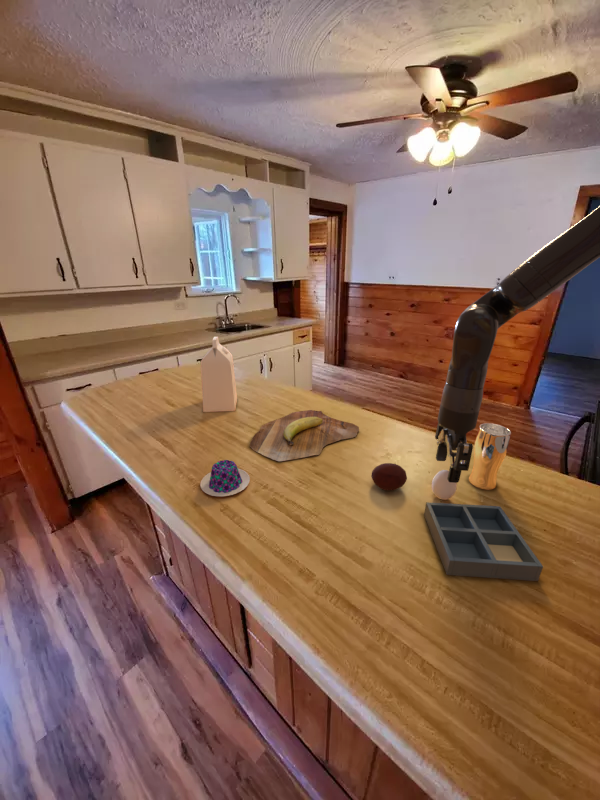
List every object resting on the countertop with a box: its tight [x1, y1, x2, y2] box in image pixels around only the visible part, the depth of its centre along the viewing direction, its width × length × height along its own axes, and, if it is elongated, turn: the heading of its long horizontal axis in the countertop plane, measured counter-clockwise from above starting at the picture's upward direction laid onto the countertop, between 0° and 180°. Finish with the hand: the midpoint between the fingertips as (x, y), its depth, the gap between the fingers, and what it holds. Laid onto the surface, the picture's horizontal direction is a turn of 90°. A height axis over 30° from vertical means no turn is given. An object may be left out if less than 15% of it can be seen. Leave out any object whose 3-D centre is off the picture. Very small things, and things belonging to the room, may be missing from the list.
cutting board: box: [249, 409, 360, 462], centre depth 107 cm, size 35×27×4 cm
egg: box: [431, 469, 458, 501], centre depth 77 cm, size 5×5×7 cm
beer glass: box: [468, 422, 512, 491], centre depth 82 cm, size 7×7×15 cm
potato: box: [371, 462, 408, 492], centre depth 81 cm, size 7×8×6 cm
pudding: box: [199, 459, 251, 497], centre depth 82 cm, size 12×12×5 cm
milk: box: [200, 336, 238, 413], centre depth 125 cm, size 12×12×26 cm
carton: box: [423, 501, 544, 582], centre depth 65 cm, size 15×15×3 cm
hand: (446, 470), depth 76 cm, fingers open, 8 cm apart
